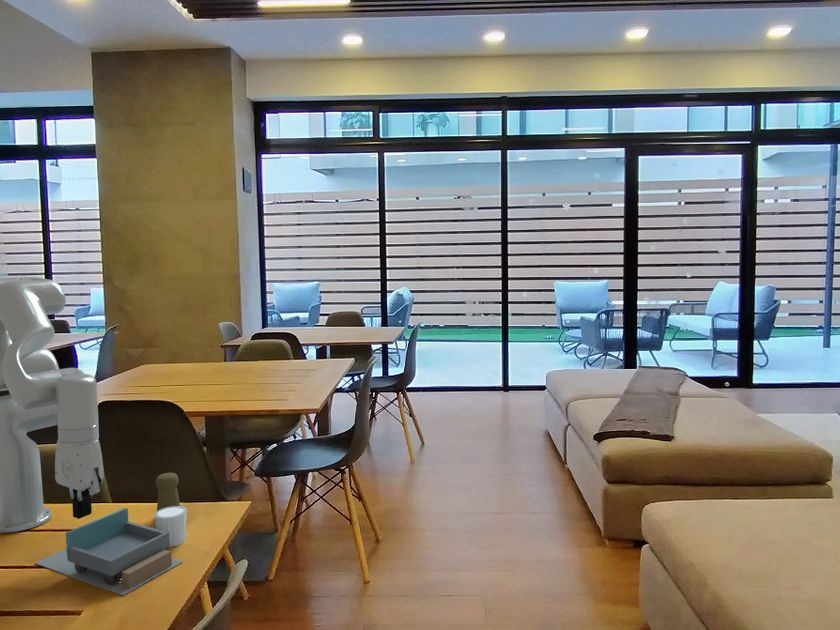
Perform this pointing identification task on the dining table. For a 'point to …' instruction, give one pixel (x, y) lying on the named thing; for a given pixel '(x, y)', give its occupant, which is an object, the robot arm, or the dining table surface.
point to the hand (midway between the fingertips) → (82, 515)
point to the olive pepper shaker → (167, 490)
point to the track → (129, 576)
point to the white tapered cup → (172, 523)
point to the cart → (113, 544)
